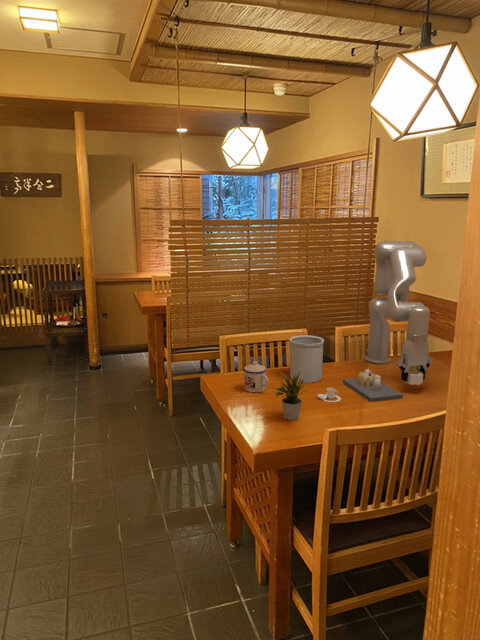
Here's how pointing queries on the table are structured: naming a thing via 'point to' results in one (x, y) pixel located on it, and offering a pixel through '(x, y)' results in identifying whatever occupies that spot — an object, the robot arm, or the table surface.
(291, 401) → the house plant
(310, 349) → the utensil holder
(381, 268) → the robot arm
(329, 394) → the teacup and saucer
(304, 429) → the table surface
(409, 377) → the gear
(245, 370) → the teacup with lid
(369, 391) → the gear board
